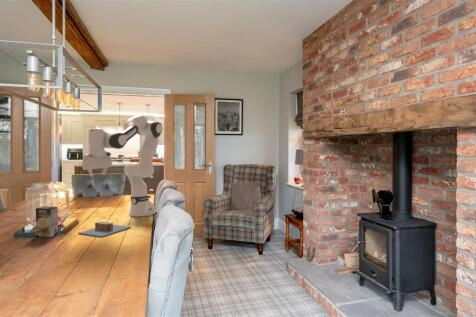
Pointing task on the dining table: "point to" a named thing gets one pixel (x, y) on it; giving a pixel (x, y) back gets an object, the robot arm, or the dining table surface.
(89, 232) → the mat
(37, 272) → the dining table surface
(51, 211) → the coffee box
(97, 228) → the walnut block
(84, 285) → the dining table surface
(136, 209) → the robot arm
